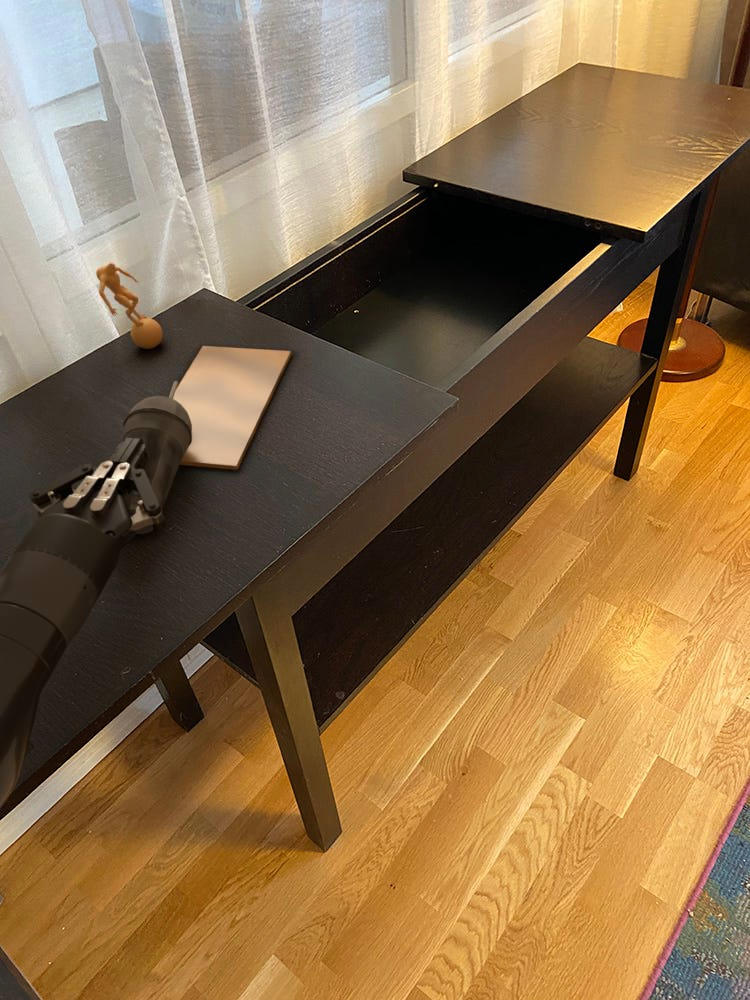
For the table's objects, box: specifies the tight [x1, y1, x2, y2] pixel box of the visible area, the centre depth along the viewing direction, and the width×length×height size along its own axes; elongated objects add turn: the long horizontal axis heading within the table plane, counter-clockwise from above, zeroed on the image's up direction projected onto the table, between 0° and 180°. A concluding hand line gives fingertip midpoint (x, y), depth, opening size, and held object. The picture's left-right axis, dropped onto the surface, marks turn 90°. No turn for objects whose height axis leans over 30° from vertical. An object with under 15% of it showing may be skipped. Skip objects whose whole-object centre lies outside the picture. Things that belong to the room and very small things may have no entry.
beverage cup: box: [122, 380, 192, 535], centre depth 83 cm, size 7×7×20 cm
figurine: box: [95, 262, 163, 350], centre depth 100 cm, size 8×6×12 cm
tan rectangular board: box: [173, 345, 292, 471], centre depth 94 cm, size 22×12×1 cm, turn 169°
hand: (137, 444), depth 75 cm, fingers closed
